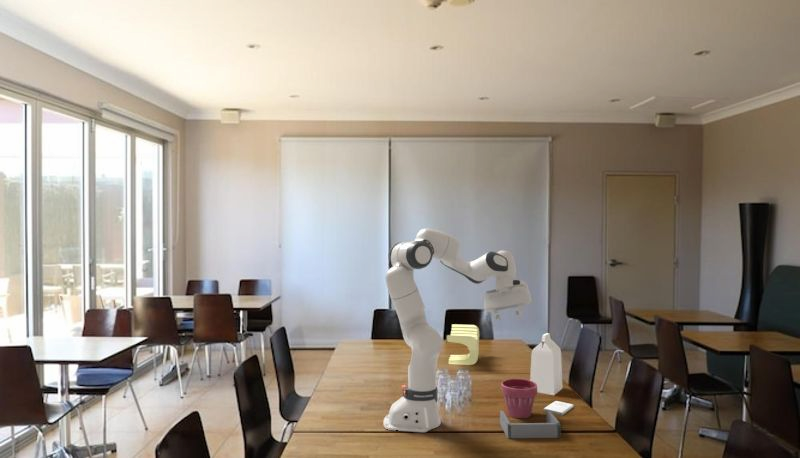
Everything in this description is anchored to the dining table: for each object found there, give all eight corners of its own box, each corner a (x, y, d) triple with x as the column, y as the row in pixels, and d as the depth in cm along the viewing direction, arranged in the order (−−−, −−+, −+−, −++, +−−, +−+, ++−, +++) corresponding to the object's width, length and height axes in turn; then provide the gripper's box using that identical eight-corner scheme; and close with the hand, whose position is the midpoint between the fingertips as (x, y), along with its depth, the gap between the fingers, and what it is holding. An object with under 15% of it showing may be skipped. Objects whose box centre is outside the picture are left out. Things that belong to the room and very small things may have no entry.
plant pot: (498, 418, 210) (498, 386, 210) (504, 406, 223) (504, 376, 223) (534, 423, 205) (534, 390, 205) (539, 410, 218) (539, 380, 218)
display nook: (507, 438, 191) (507, 424, 191) (500, 423, 205) (500, 410, 205) (560, 437, 191) (560, 424, 191) (549, 422, 205) (549, 410, 205)
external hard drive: (543, 412, 218) (555, 403, 228) (562, 416, 213) (573, 408, 222) (543, 408, 218) (555, 400, 228) (562, 412, 213) (573, 404, 222)
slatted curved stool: (476, 369, 279) (476, 336, 279) (447, 368, 282) (446, 335, 282) (479, 355, 308) (479, 325, 308) (452, 354, 311) (452, 324, 311)
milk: (538, 384, 254) (538, 330, 253) (562, 388, 247) (562, 333, 246) (529, 390, 244) (529, 335, 243) (553, 395, 237) (553, 338, 237)
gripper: (480, 289, 226) (481, 319, 219) (526, 279, 216) (528, 311, 209) (487, 294, 231) (488, 324, 224) (531, 285, 220) (534, 316, 213)
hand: (508, 317), depth 216 cm, fingers open, 8 cm apart
